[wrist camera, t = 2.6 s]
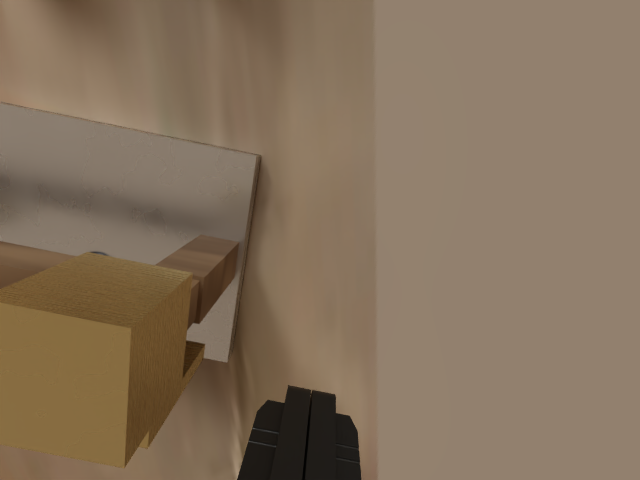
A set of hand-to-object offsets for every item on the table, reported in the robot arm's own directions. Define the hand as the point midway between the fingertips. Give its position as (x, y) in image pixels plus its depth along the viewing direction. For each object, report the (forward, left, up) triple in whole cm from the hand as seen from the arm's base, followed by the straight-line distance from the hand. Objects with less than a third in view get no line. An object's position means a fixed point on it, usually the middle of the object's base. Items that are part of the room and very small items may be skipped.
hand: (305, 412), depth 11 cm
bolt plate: (0, -19, -12) cm, 23 cm away
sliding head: (0, -7, -11) cm, 13 cm away
